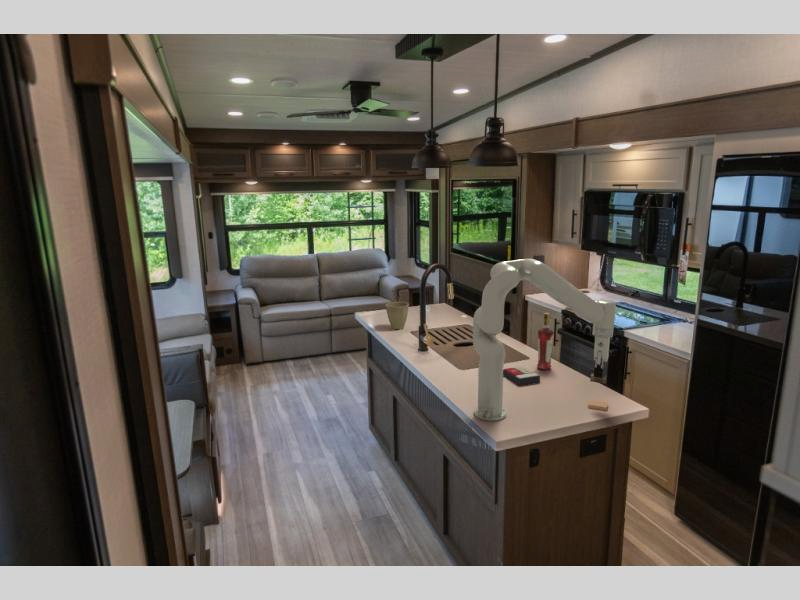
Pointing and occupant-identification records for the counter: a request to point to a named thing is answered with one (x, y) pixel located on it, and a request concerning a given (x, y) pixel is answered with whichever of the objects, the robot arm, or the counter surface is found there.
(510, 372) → the calculator
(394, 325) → the plant pot
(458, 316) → the counter surface
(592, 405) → the tile
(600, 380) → the tan stepped block
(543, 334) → the liquor
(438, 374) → the counter surface
